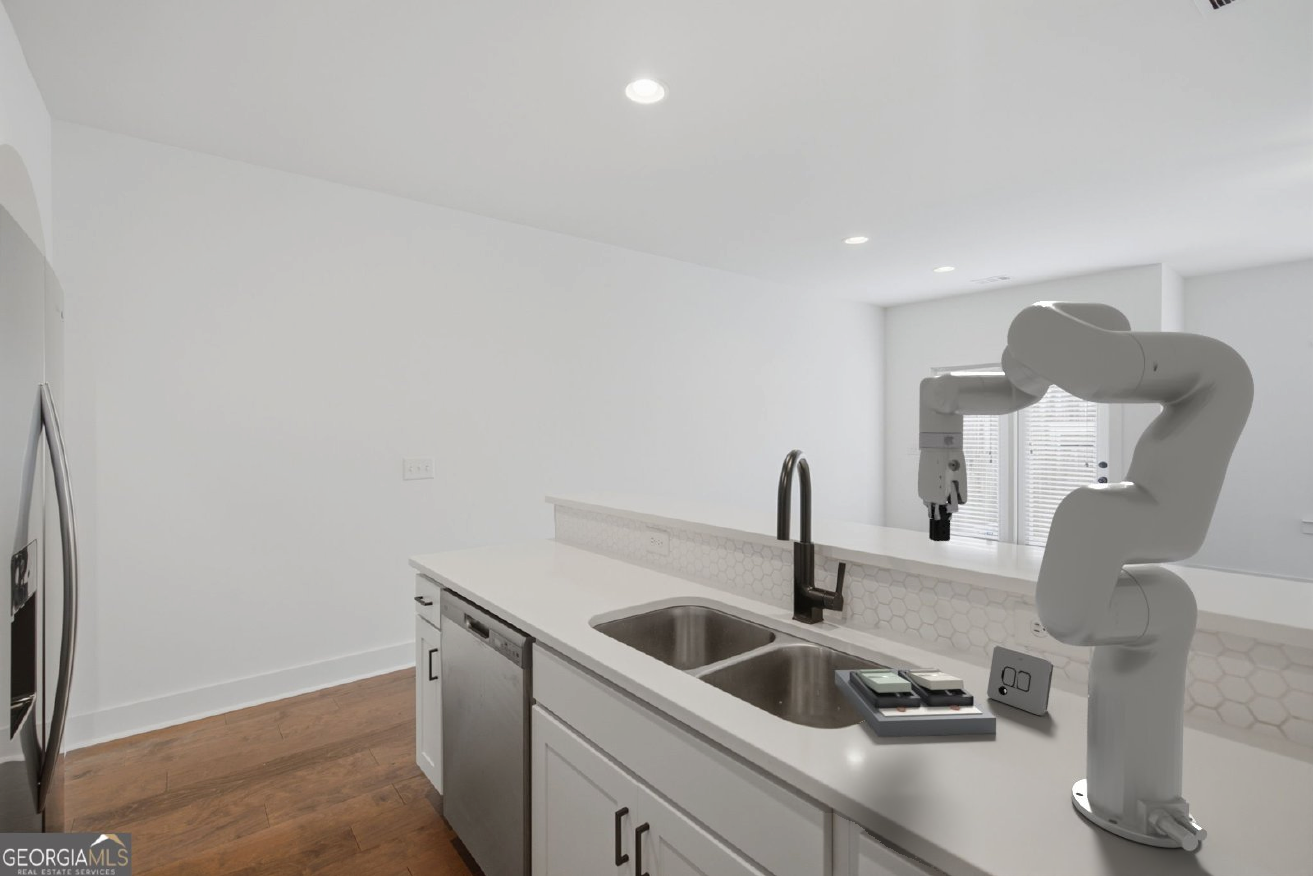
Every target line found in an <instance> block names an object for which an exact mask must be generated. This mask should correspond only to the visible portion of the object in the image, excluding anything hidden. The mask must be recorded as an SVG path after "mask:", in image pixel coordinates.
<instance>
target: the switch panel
mask: <svg viewBox="0 0 1313 876" xmlns="http://www.w3.org/2000/svg"><path fill="white" fill-rule="evenodd" d="M873 669H874V668H873ZM873 669H865V670H873ZM887 669H888V670H890V672H891V673H893V674H895V675H898V676H899V677H901V678H903V679H905V680H907V681H909V682H910V683H911V691H912V692H877V691H875V690H874V689H872V688H871V687H869V686H867V685H866V684H864V683H863V682H862V680H861V679H860V678H859V677H858V672H859V670H860V669H837V670H834V684H835V685H836V687H837V688H838V689H839V691H841V693H842V694H843V695H844V696H845V698H846V699H847V700H848V701H849V702H850V704H851V705H852V706H853V707H854V708H855V710H856V711H857V712H858V713H859V715H860V716H861V717H862V718H863V719H864V721H865V722H866V723H867V725H868V726H869V727H870V728H871V729H872V730H873V732H874V733H875V734H876V735H877V737H879V738H885V737H917V736H918V737H920V736H946V735H947V736H948V735H949V736H950V735H978V734H979V735H981V734H983V735H985V734H997V717H996V715H994V714H992V713H991V712H990V711H988V710H987V709H986V708H985V707H983V706H982V705H981V704H980V703H978V701H976V700H975V697H974V695H973V694H971V693H970V692H969V691H967V689H965V688H964V689H936V690H931V689H929V688H926V687H924V686H920V685H919V684H916V683H915V682H914V681H913V680H912V679H911V678H910V677H908V676H907V675H906V672H908V670H919V669H935V668H934V667H914V668H913V667H912V668H909V667H908V668H887ZM936 669H937V670H939V672H941V673H944V672H943V671H942V670H940V669H939V668H936Z"/></svg>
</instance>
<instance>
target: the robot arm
mask: <svg viewBox="0 0 1313 876" xmlns="http://www.w3.org/2000/svg"><path fill="white" fill-rule="evenodd" d="M1006 338H1007V345H1006V346H1005V348H1004V349H1003V352H1002V353H1001V361H1000V363H1001V369H1002V372H999V371H998V372H996V371H995V372H992V371H983V372H982V371H981V372H980V371H966V372H965V371H955V372H954V371H952V372H948V373H944V374H942V375H937V376H935V375H934V376H929V377H924V378H923V379H921V381H920V383H919V400H918V401H919V407H918V409H919V412H918V413H919V414H918V415H919V418H918V419H919V420H918V423H919V424H918V432H919V433H918V450H919V451H920V453H919V463H918V473H917V477H918V478H917V493H918V497H919V498H920V499H921V500H922V504H923V506H925V507H926V508H927V516H928V518H929V520H928V521H929V524H928V525H929V528H928V530H929V531H928V532H929V535H928V536H929V537H928V538H929V540H931V541H934V542H950V540H951V520H952V519H953V514H955V513H959V509H960V508H959V505H960V506H961V505H962V506H963V505H966V504H967V502H968V474H967V473H968V472H967V464H966V457H965V453H964V452H965V451H964V416H1003V415H1008V414H1012V413H1015V412H1018V411H1021V410H1023V409H1026V408H1029V407H1032V406H1033V405H1035V404H1037V403H1039V402H1041V400H1042V399H1043V398H1044V396H1045V395H1046V394H1047V392H1048V390H1049V389H1050V387H1051V386H1053V385H1055V386H1056V387H1058V388H1059V389H1061V390H1062V391H1065V392H1066V393H1068V394H1070V395H1071V396H1073V397H1076V398H1078V399H1080V400H1084V401H1086V402H1091V403H1097V404H1107V405H1108V404H1128V405H1129V404H1133V405H1134V404H1139V405H1140V404H1159V405H1160V406H1162V407H1163V408H1162V411H1161V412H1160V413H1159V414H1158V415H1157V416H1156V417H1155V418H1154V419H1153V420H1152V422H1150V423H1149V424H1148V425H1147V427H1146V428H1145V429H1144V431H1143V432H1142V433H1141V435H1140V437H1139V438H1138V441H1137V442H1136V445H1135V446H1134V448H1133V449H1134V450H1133V454H1132V459H1131V462H1130V465H1129V468H1128V470H1127V473H1126V475H1125V477H1124V479H1123V480H1122V481H1120V482H1118V483H1117V482H1113V483H1111V482H1110V483H1108V482H1107V483H1106V482H1105V483H1091V484H1087V485H1083V486H1080V487H1078V488H1075V489H1074V490H1072V491H1070V492H1069V493H1068V494H1067V495H1066V496H1064V498H1063V499H1061V500H1060V503H1058V504H1059V505H1057V507H1056V509H1055V512H1054V513H1053V516H1052V519H1051V524H1050V527H1049V532H1048V535H1047V538H1046V539H1047V540H1046V544H1045V547H1044V552H1043V556H1042V559H1041V560H1042V561H1041V564H1040V568H1039V572H1038V578H1037V582H1036V588H1035V600H1034V601H1035V610H1036V613H1037V614H1036V615H1037V617H1038V621H1039V622H1040V623H1041V626H1042V627H1043V628H1044V630H1045V631H1046V633H1047V634H1048V635H1050V636H1051V637H1052V638H1053V639H1055V640H1056V641H1058V642H1060V643H1063V644H1064V645H1065V644H1066V645H1068V646H1073V647H1083V648H1085V647H1089V648H1090V647H1094V648H1093V651H1092V654H1091V657H1090V660H1089V667H1088V678H1087V679H1088V681H1087V682H1088V683H1087V715H1086V716H1087V717H1086V718H1087V719H1086V720H1087V723H1086V724H1087V725H1086V727H1087V729H1086V766H1085V768H1086V770H1085V772H1086V773H1085V774H1086V776H1085V778H1084V779H1081V780H1079V781H1076V782H1075V783H1074V784H1073V785H1072V787H1071V801H1072V804H1073V805H1074V806H1075V808H1076V809H1077V810H1078V811H1079V812H1080V813H1081V814H1082V815H1083V816H1085V818H1087V819H1088V820H1089V821H1091V822H1092V823H1094V824H1095V825H1097V826H1099V827H1100V828H1102V829H1104V830H1106V831H1108V832H1109V833H1112V834H1114V835H1117V836H1119V837H1122V838H1123V839H1126V840H1130V841H1133V842H1136V843H1140V844H1144V845H1148V846H1153V847H1161V848H1171V849H1172V848H1173V849H1174V848H1175V849H1176V848H1182V849H1184V850H1185V851H1187V852H1193V851H1194V850H1196V848H1197V847H1198V845H1199V841H1205V840H1206V839H1207V837H1208V832H1207V830H1206V829H1205V828H1203V827H1202V826H1200V825H1198V822H1197V820H1196V818H1195V817H1194V816H1193V815H1192V814H1191V813H1190V802H1189V801H1187V800H1186V799H1185V798H1184V797H1183V766H1184V765H1183V760H1184V759H1183V758H1184V756H1183V755H1184V721H1185V720H1184V717H1185V716H1184V715H1185V713H1184V712H1185V711H1184V709H1185V699H1186V697H1185V696H1186V695H1185V693H1186V691H1185V690H1186V676H1187V675H1186V674H1187V666H1188V665H1187V663H1188V658H1189V653H1190V649H1191V646H1192V642H1193V639H1194V635H1195V631H1196V626H1197V621H1198V604H1197V599H1196V597H1195V595H1194V592H1193V591H1192V588H1191V587H1190V585H1188V584H1187V582H1186V581H1185V580H1184V578H1182V577H1181V576H1180V575H1178V574H1177V573H1176V572H1173V571H1172V570H1170V569H1167V568H1165V567H1162V566H1159V565H1155V564H1162V563H1163V564H1165V563H1174V562H1180V561H1184V560H1188V559H1190V558H1192V557H1193V556H1195V555H1196V554H1197V553H1198V552H1199V550H1200V549H1201V547H1202V546H1203V545H1204V542H1205V540H1206V537H1207V534H1208V531H1209V528H1210V524H1211V522H1212V519H1213V516H1214V513H1215V511H1216V510H1215V509H1216V506H1217V503H1218V501H1219V498H1220V494H1221V491H1222V489H1223V485H1224V482H1225V479H1226V475H1227V470H1228V467H1229V465H1230V461H1231V458H1232V456H1233V453H1234V451H1235V449H1236V447H1237V444H1238V441H1239V439H1240V438H1241V435H1242V432H1243V431H1244V428H1245V426H1246V424H1247V422H1248V420H1249V416H1250V413H1251V410H1252V407H1253V402H1254V397H1255V396H1254V395H1255V385H1254V379H1253V375H1252V372H1251V370H1250V368H1249V365H1248V364H1247V362H1246V360H1245V359H1244V358H1243V356H1242V355H1241V354H1240V353H1239V352H1238V351H1236V349H1234V348H1233V346H1232V347H1231V345H1229V344H1227V343H1225V342H1224V341H1221V340H1219V339H1217V338H1215V337H1211V336H1207V335H1203V334H1198V333H1192V332H1191V333H1190V332H1181V331H1135V330H1134V331H1133V330H1132V327H1131V323H1130V321H1129V319H1128V317H1126V315H1125V314H1124V313H1123V312H1122V311H1121V310H1119V309H1117V308H1116V307H1114V306H1111V305H1108V304H1105V303H1099V302H1092V301H1091V302H1085V301H1083V302H1081V301H1061V300H1060V301H1059V300H1058V301H1057V300H1055V301H1054V300H1050V301H1048V300H1047V301H1039V302H1036V303H1033V304H1030V305H1028V306H1026V307H1025V308H1023V309H1022V310H1021V311H1020V312H1019V313H1018V314H1017V315H1016V316H1015V317H1014V319H1013V320H1012V321H1011V323H1010V326H1009V328H1008V331H1007V337H1006Z"/></svg>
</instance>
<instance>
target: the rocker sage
mask: <svg viewBox="0 0 1313 876" xmlns="http://www.w3.org/2000/svg"><path fill="white" fill-rule="evenodd" d="M888 669H889V668H877V669H874V668H873V670H866V669H858V670H859V672H858V677H859V678H860V679H861V680H862V682H863V683H864V684H866V685H867V686H869V687H871V688H872V689H874V690H875V691H877V692H912V691H911V683H910V682H909V681H907V680H905V679H903V678H901V677H899V676H898V675H895V674H893V673H891V672H890V670H888Z"/></svg>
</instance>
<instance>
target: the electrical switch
mask: <svg viewBox="0 0 1313 876" xmlns="http://www.w3.org/2000/svg"><path fill="white" fill-rule="evenodd" d="M992 653H993V654H992V659H991V665H990V672H989V677H988V684H987V692H986V694H987V696H988V697H989V699H993V700H995V701H998V702H1000V703H1003V704H1005V705H1006V704H1007V705H1009V706H1012V707H1015V708H1018V709H1020V710H1023V711H1026V712H1029V713H1032V714H1034V715H1037V716H1041V717H1042V716H1044V715H1045V713H1046V711H1048V706H1049V700H1050V692H1051V684H1052V678H1053V672H1054V664H1052V661H1051V660H1050V659H1048V658H1044V657H1040V656H1037V655H1033V654H1029V653H1028V652H1027V653H1026V652H1024V651H1020V650H1017V649H1012V648H1009V647H1006V646H1002V645H996V646H995V647H993V650H992Z"/></svg>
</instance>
